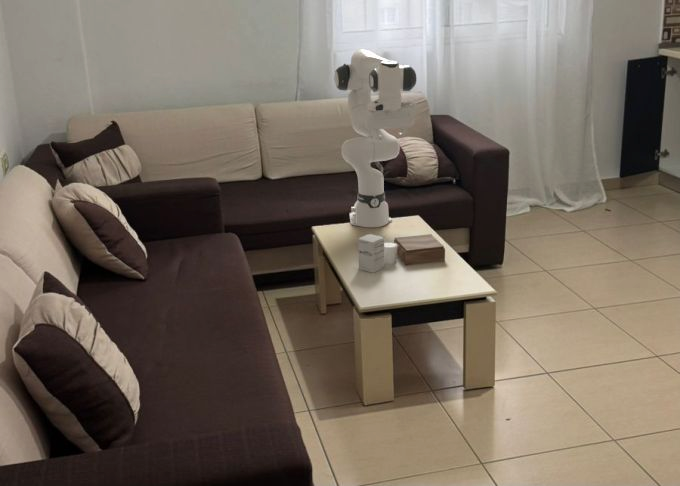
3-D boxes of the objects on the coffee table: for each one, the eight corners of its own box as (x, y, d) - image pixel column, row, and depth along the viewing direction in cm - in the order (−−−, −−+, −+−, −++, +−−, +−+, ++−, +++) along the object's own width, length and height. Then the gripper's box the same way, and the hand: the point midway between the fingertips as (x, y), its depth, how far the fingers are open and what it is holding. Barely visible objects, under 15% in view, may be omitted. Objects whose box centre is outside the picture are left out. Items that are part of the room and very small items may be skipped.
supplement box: (357, 269, 330) (357, 238, 326) (369, 263, 336) (369, 233, 331) (373, 273, 326) (372, 242, 321) (384, 267, 331) (384, 236, 327)
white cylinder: (396, 264, 334) (396, 248, 331) (378, 264, 335) (378, 247, 333) (398, 258, 340) (398, 242, 338) (381, 257, 341) (381, 241, 339)
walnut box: (393, 251, 348) (393, 237, 346) (431, 247, 351) (431, 233, 349) (405, 265, 333) (405, 250, 331) (444, 261, 336) (445, 246, 334)
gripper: (410, 100, 339) (410, 134, 344) (362, 104, 332) (363, 140, 337) (417, 102, 334) (417, 137, 338) (369, 107, 327) (369, 143, 331)
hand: (390, 139), depth 337 cm, fingers open, 8 cm apart
